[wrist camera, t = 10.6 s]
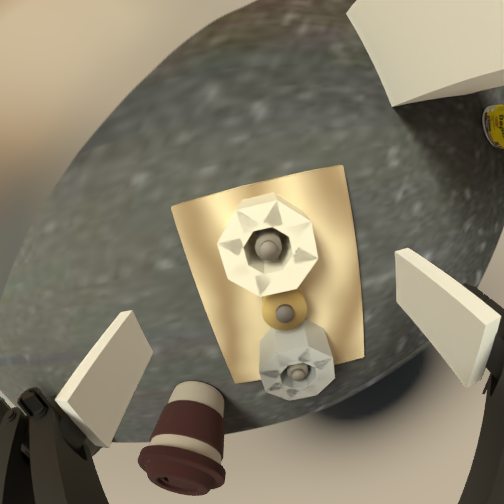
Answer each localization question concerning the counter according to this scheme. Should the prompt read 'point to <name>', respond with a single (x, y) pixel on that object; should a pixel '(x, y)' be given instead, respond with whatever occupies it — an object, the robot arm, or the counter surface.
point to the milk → (432, 46)
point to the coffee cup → (188, 441)
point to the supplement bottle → (494, 125)
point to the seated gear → (295, 360)
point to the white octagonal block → (244, 255)
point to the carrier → (269, 248)
